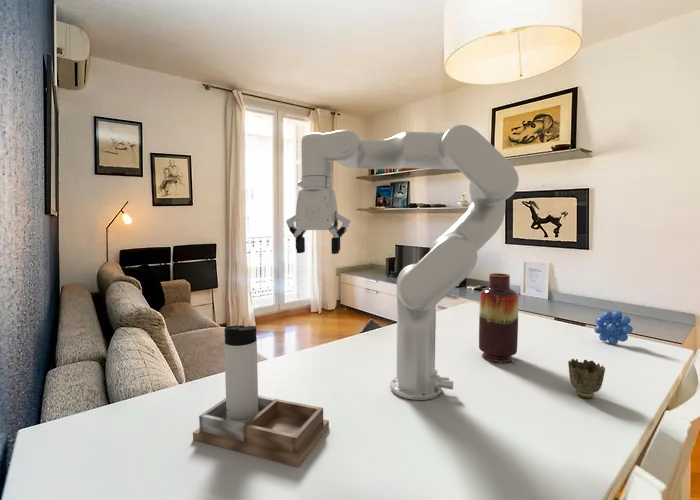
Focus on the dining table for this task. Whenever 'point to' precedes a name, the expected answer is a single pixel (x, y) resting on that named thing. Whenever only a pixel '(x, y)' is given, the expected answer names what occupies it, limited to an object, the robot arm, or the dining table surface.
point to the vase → (498, 320)
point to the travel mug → (241, 373)
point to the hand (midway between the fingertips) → (317, 253)
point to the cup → (586, 377)
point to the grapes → (613, 327)
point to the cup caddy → (266, 430)
